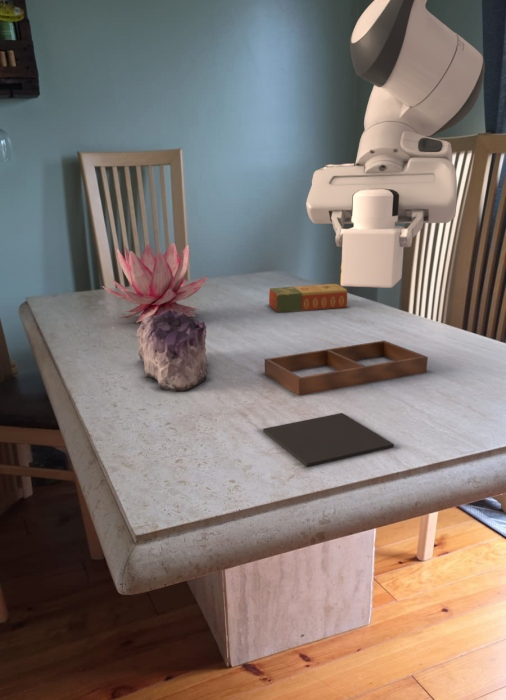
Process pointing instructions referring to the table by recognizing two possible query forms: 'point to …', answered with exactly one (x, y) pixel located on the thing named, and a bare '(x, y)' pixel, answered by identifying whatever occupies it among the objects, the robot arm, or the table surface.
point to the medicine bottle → (372, 241)
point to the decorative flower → (157, 282)
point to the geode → (173, 350)
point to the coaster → (326, 439)
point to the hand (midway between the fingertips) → (372, 244)
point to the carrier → (344, 367)
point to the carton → (307, 297)
